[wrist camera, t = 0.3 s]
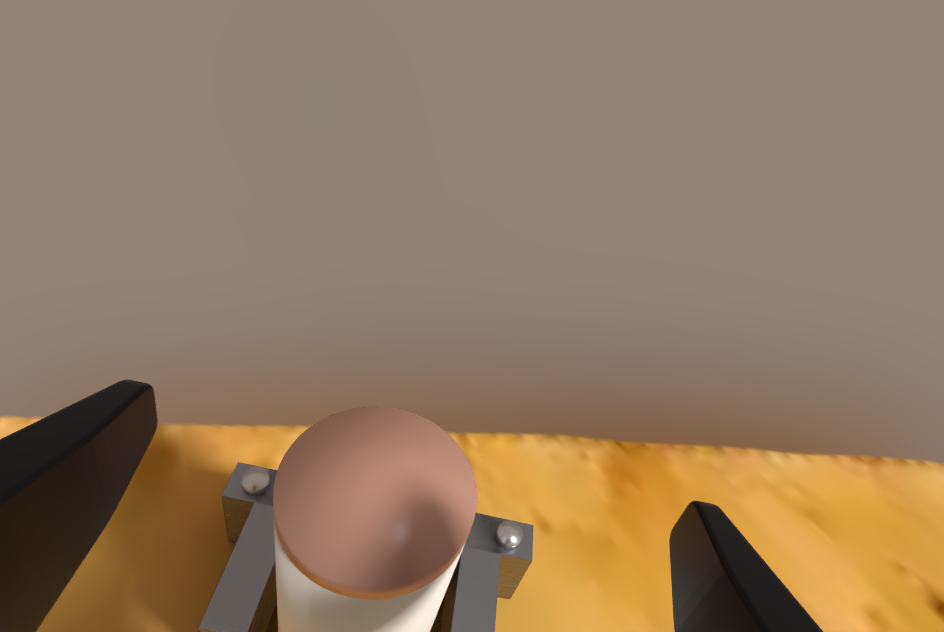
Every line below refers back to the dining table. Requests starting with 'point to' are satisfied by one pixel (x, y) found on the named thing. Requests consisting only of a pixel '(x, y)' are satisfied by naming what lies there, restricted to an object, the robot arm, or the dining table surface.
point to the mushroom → (369, 522)
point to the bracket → (254, 569)
